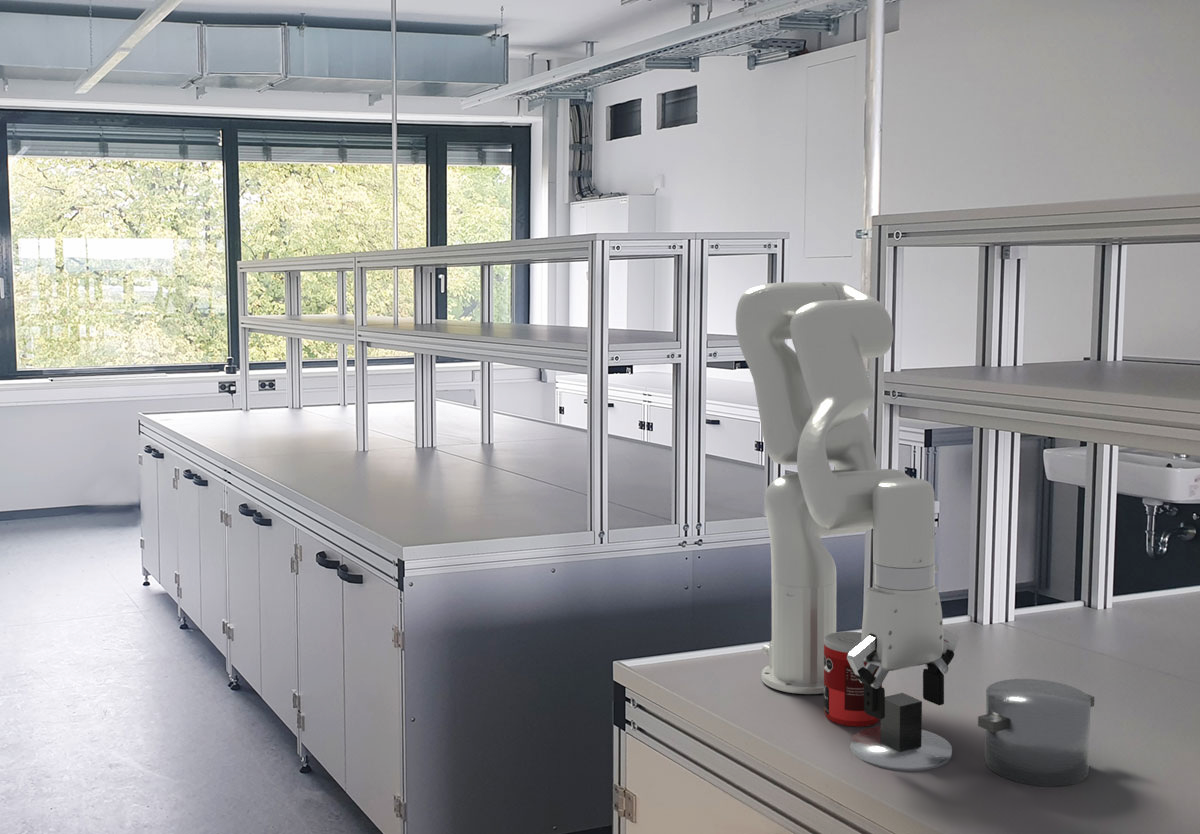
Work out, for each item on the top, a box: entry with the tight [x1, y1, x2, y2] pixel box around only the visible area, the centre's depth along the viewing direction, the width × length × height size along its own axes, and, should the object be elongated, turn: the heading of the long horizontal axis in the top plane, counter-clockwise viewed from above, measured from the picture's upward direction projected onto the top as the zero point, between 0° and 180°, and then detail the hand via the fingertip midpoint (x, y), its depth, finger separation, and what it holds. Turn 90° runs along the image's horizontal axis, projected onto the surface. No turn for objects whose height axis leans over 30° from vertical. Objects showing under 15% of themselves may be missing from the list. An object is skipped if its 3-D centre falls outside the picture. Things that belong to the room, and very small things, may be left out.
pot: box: [977, 678, 1095, 788], centre depth 146 cm, size 12×17×9 cm
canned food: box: [823, 631, 883, 728], centre depth 163 cm, size 8×8×11 cm
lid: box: [850, 692, 953, 772], centre depth 152 cm, size 13×13×7 cm
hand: (904, 708), depth 151 cm, fingers open, 9 cm apart
